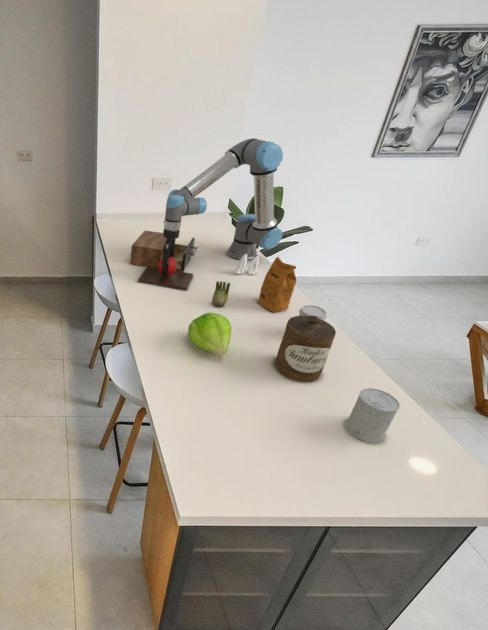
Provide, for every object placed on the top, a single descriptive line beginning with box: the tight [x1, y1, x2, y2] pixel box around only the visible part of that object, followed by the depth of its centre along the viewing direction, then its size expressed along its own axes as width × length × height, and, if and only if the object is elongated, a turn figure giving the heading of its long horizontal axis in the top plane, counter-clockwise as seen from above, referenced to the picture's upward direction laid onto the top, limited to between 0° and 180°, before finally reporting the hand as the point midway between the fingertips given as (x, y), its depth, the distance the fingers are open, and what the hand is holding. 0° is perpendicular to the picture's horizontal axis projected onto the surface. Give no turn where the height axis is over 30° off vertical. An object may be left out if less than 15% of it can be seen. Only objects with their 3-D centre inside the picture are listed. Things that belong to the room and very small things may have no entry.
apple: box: [158, 257, 177, 276], centre depth 209 cm, size 9×9×10 cm
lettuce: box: [187, 312, 232, 356], centre depth 159 cm, size 15×20×14 cm
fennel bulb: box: [211, 280, 231, 308], centre depth 187 cm, size 6×5×12 cm
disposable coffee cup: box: [298, 304, 328, 321], centre depth 165 cm, size 10×10×12 cm
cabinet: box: [130, 230, 167, 268], centre depth 233 cm, size 16×25×11 cm, turn 155°
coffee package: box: [257, 256, 297, 313], centre depth 183 cm, size 10×12×22 cm
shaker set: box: [235, 254, 260, 276], centre depth 214 cm, size 12×4×11 cm, turn 97°
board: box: [137, 266, 194, 292], centre depth 213 cm, size 24×17×2 cm
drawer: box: [161, 237, 199, 272], centre depth 228 cm, size 20×25×10 cm
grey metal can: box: [345, 387, 401, 444], centre depth 122 cm, size 10×10×12 cm
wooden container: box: [274, 315, 336, 383], centre depth 145 cm, size 15×15×22 cm
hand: (166, 271), depth 211 cm, fingers closed on apple, 9 cm apart
